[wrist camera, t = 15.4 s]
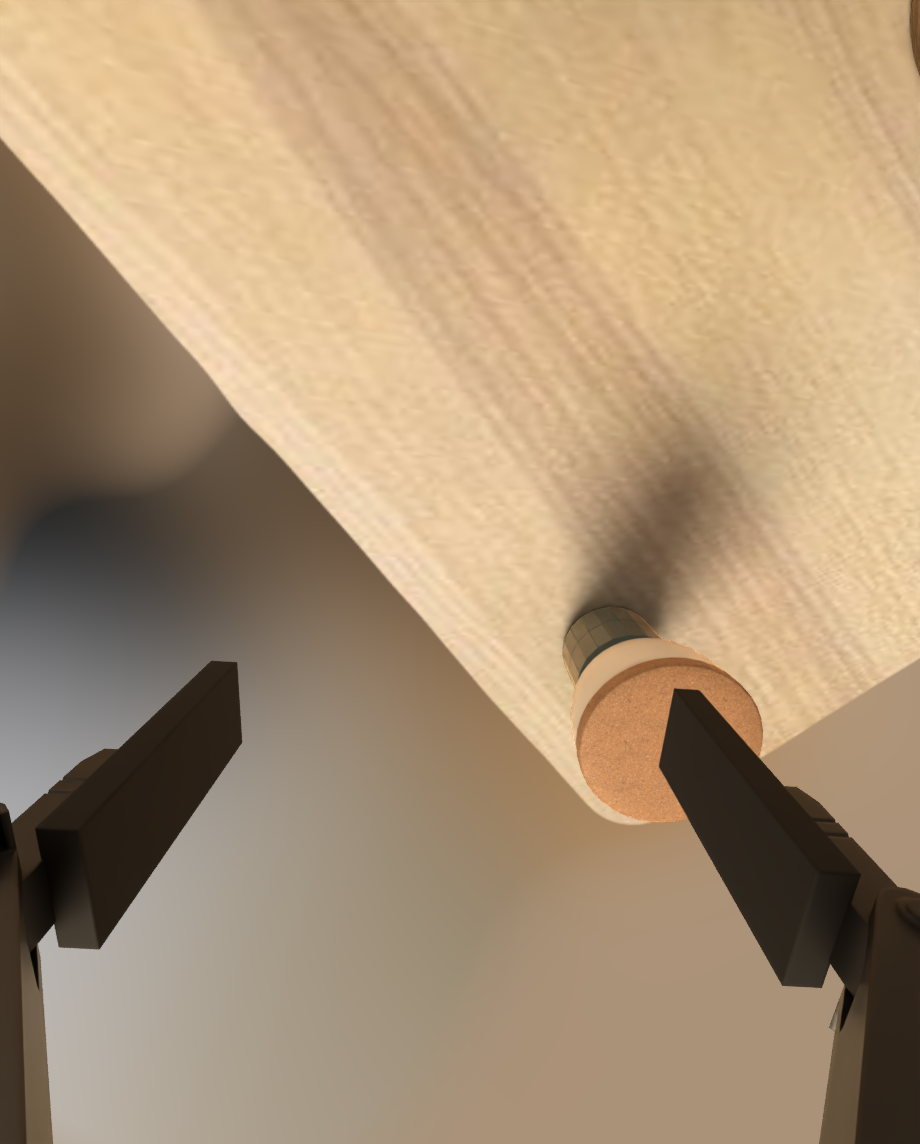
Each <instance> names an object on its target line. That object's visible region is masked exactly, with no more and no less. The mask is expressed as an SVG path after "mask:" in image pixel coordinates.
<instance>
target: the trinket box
mask: <svg viewBox="0 0 920 1144" xmlns="http://www.w3.org/2000/svg"><path fill="white" fill-rule="evenodd" d="M674 688H677V689H694V690H700V691H701V692H702V694H703V695H704V696H705V697H706V698H707V699H708V700H709V701H710V703H711V704H712V705H713V706H714V707H715V708H716V709H717V711H718V712H719V713H720V714H721V715H722V716H723V717H724V719H725V720H726V721H727V722H728V723H729V724H730V725H731V727H732V728H733V729H734V730H735V731H736V732H737V733H738V735H739V736H740V737H741V738H742V739H743V740H744V741H745V742H746V744H747V745H748V746H749V747H750V748H751V749H752V750H753V752H754V753H755V754H756V755H757V756H758V757H759V755H760V751H761V747H762V738H763V729H762V722H761V717H760V714H759V711H758V708H757V706H756V704H755V703H754V701H753V699H752V697H751V696H750V695H749V693H748V692H747V691H746V690H745V689H744V688H743V686H742V685H741V684H740V683H738V682H737V681H736V680H735V679H734V678H732V677H731V676H730V675H729V674H727V673H726V672H725V671H723V670H721V669H720V668H719V667H718V666H717V665H715V664H714V663H713V662H712V661H710V660H709V659H708V658H706V657H705V656H703V655H702V654H700V653H698V652H696V651H695V650H693V649H691V648H689V647H687V646H684V645H682V644H679V643H676V642H674V641H670V640H665V639H659V638H637V639H631V640H627V641H623V642H620V643H618V644H615V645H613V646H611V647H609V648H608V649H606V650H604V651H602V652H601V653H600V654H599V655H597V656H596V657H595V658H594V659H593V660H592V661H591V662H590V663H589V664H588V665H587V666H586V668H585V669H584V671H583V672H582V674H581V676H580V678H579V680H578V682H577V684H576V686H575V690H574V693H573V696H572V704H571V726H572V734H573V738H574V742H575V746H576V750H577V757H578V761H579V765H580V768H581V771H582V774H583V776H584V778H585V780H586V782H587V784H588V786H589V787H590V789H591V790H592V791H593V793H594V794H595V795H596V796H597V797H598V798H599V799H600V800H601V801H602V802H603V803H605V804H606V805H607V806H609V807H610V808H612V809H613V810H615V811H617V812H619V813H621V814H623V815H626V816H629V817H632V818H635V819H638V820H644V821H650V822H671V821H680V820H685V819H688V818H687V816H686V814H685V812H684V811H683V809H682V807H681V805H680V804H679V802H678V800H677V798H676V796H675V795H674V793H673V791H672V789H671V788H670V786H669V784H668V782H667V781H666V779H665V777H664V775H663V773H662V772H661V770H660V768H659V762H660V757H661V752H662V747H663V742H664V737H665V732H666V726H667V721H668V716H669V711H670V706H671V701H672V696H673V691H674Z"/></svg>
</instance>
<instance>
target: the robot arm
mask: <svg viewBox="0 0 920 1144" xmlns="http://www.w3.org/2000/svg"><path fill="white" fill-rule="evenodd" d="M911 37H912V45H913V52H914V56H915V61H916V65H917V68H918V71H919V74H920V0H912V6H911ZM241 743H242V732H241V716H240V700H239V685H238V670H237V662H222V661H211V662H210V663H209V664H208V665H206V667H204V668H203V669H202V670H201V671H200V672H199V673H198V674H197V675H196V676H195V677H194V678H193V679H192V680H191V681H190V682H189V683H188V684H186V685H185V686H184V687H183V688H182V689H181V690H180V691H179V692H178V693H177V694H176V695H175V696H174V697H173V698H172V699H171V700H170V701H169V702H167V703H166V704H165V705H164V706H163V707H162V708H161V709H160V710H159V711H158V712H157V713H156V714H155V715H154V716H153V717H152V718H151V719H150V720H149V721H148V722H146V723H145V724H144V725H143V726H142V727H141V728H140V729H139V730H138V731H137V732H136V733H135V734H134V735H133V736H132V737H131V738H130V739H129V740H128V741H126V742H125V743H124V744H123V745H122V746H121V747H120V748H119V749H103V750H102V751H100V752H98V753H96V754H94V755H92V756H90V757H89V758H87V759H85V760H83V761H81V762H80V763H79V764H78V765H77V766H75V767H74V768H73V769H72V770H71V771H70V772H69V773H68V774H66V776H64V777H63V780H62V781H61V780H60V781H59V782H58V783H56V784H55V785H54V786H53V787H52V788H51V789H50V790H49V792H48V794H44V795H43V796H42V797H41V798H40V799H38V800H37V801H36V802H35V803H34V804H33V805H32V806H30V807H29V808H28V809H27V810H26V811H25V812H24V813H23V814H21V815H20V816H19V817H18V818H17V819H16V820H15V821H14V822H13V823H11V819H10V814H9V811H8V809H7V807H6V805H5V804H3V803H0V1144H53V1139H52V1123H51V1111H50V1110H51V1109H50V1094H49V1078H48V1064H47V1051H46V1050H47V1049H46V1034H45V1019H44V1005H43V989H42V975H41V960H40V954H39V949H38V943H39V942H40V940H41V939H42V938H43V936H44V935H45V934H46V933H47V932H48V931H49V929H50V928H51V927H52V926H53V924H54V925H55V930H56V935H57V940H58V945H59V947H63V948H84V949H100V948H101V946H102V945H103V943H104V942H105V941H106V939H107V938H108V936H109V935H110V933H111V932H112V930H113V929H114V927H115V926H116V925H117V923H118V921H119V920H120V919H121V917H122V916H123V914H124V913H125V912H126V910H127V908H128V907H129V906H130V904H131V903H132V901H133V900H134V899H135V897H136V896H137V894H138V893H139V891H140V890H141V888H142V887H143V885H144V884H145V883H146V881H147V880H148V878H149V877H150V875H151V874H152V872H153V871H154V869H155V868H156V867H157V865H158V864H159V862H160V861H161V859H162V858H163V856H164V855H165V854H166V852H167V851H168V849H169V848H170V846H171V845H172V843H173V842H174V840H175V839H176V838H177V836H178V835H179V833H180V832H181V830H182V829H183V827H184V826H185V825H186V823H187V822H188V820H189V819H190V817H191V816H192V814H193V813H194V812H195V810H196V809H197V807H198V806H199V804H200V803H201V801H202V800H203V799H204V797H205V795H206V794H207V793H208V791H209V790H210V788H211V787H212V785H213V784H214V783H215V781H216V780H217V778H218V777H219V775H220V774H221V772H222V771H223V770H224V768H225V766H226V765H227V764H228V762H229V761H230V759H231V758H232V756H233V755H234V754H235V752H236V751H237V749H238V748H239V746H240V745H241ZM659 768H660V770H661V772H662V773H663V775H664V777H665V779H666V781H667V782H668V784H669V786H670V788H671V789H672V791H673V793H674V795H675V796H676V798H677V800H678V802H679V804H680V805H681V807H682V809H683V811H684V812H685V814H686V816H687V818H688V819H689V821H690V823H691V825H692V826H693V828H694V830H695V832H696V834H697V835H698V837H699V839H700V841H701V842H702V844H703V846H704V848H705V850H706V851H707V853H708V855H709V856H710V858H711V860H712V862H713V864H714V865H715V867H716V869H717V871H718V873H719V874H720V876H721V878H722V880H723V881H724V883H725V885H726V887H727V888H728V890H729V892H730V894H731V895H732V897H733V899H734V901H735V903H736V904H737V906H738V908H739V910H740V911H741V913H742V915H743V917H744V919H745V920H746V922H747V924H748V926H749V927H750V929H751V931H752V933H753V934H754V936H755V938H756V940H757V941H758V943H759V945H760V947H761V948H762V950H763V952H764V954H765V956H766V957H767V959H768V961H769V963H770V965H771V966H772V968H773V970H774V972H775V973H776V975H777V977H778V979H779V980H780V982H781V984H782V986H796V987H815V988H822V986H823V983H824V980H825V977H826V974H827V971H828V968H829V966H830V964H831V965H832V967H833V968H834V970H835V971H836V973H837V974H838V976H839V977H840V978H841V980H842V982H843V983H844V988H843V991H842V993H841V996H840V999H839V1001H838V1004H837V1007H836V1010H835V1012H834V1015H833V1018H832V1021H831V1023H830V1026H829V1028H830V1029H832V1030H834V1031H835V1035H834V1042H833V1049H832V1056H831V1064H830V1071H829V1079H828V1085H827V1093H826V1099H825V1106H824V1113H823V1121H822V1128H821V1135H820V1142H819V1144H920V894H919V893H917V892H914V891H911V890H909V889H906V888H900V887H897V886H896V884H895V883H894V882H893V881H892V880H891V879H890V878H889V877H888V876H887V875H886V874H885V873H884V872H883V870H882V869H881V868H879V866H878V865H877V864H876V863H875V862H874V861H873V860H872V859H871V858H870V857H869V856H868V855H867V853H866V852H865V851H864V850H863V849H862V848H861V847H860V846H859V845H858V844H857V843H856V842H855V840H854V839H853V838H851V837H849V836H848V833H847V832H846V831H845V830H844V829H843V828H842V827H841V826H840V824H839V823H836V822H835V819H834V818H833V817H832V816H831V815H830V814H829V813H828V812H827V810H826V809H825V808H823V806H822V805H821V804H820V803H819V802H818V801H816V800H815V799H813V798H812V797H810V796H809V795H808V794H806V793H805V792H803V791H802V790H800V789H799V788H797V787H788V786H783V785H782V784H781V782H780V781H779V780H778V779H777V778H776V777H775V776H774V774H773V773H772V772H771V771H770V770H769V769H768V768H767V766H766V765H765V764H764V763H763V762H762V761H761V760H760V758H759V757H758V756H757V755H756V754H755V753H754V752H753V750H752V749H751V748H750V747H749V746H748V745H747V744H746V742H745V741H744V740H743V739H742V738H741V737H740V736H739V735H738V733H737V732H736V731H735V730H734V729H733V728H732V727H731V725H730V724H729V723H728V722H727V721H726V720H725V719H724V717H723V716H722V715H721V714H720V713H719V712H718V711H717V709H716V708H715V707H714V706H713V705H712V704H711V703H710V701H709V700H708V699H707V698H706V697H705V696H704V695H703V694H702V692H701V691H700V690H694V689H677V688H674V691H673V696H672V701H671V706H670V711H669V716H668V721H667V726H666V732H665V737H664V742H663V747H662V752H661V757H660V762H659Z"/></svg>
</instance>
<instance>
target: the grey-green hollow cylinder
mask: <svg viewBox="0 0 920 1144" xmlns="http://www.w3.org/2000/svg"><path fill="white" fill-rule="evenodd" d="M637 638H659V639H662V638H661V637H660V636H659V635H658V634H657V633H656V632H655V630H654V629H653V628H652V627H651V626H650V625H649V624H648V623H647V622H646V621H645V620H644V619H643V618H642V617H641V616H639V615H638V614H637V613H635V612H633V611H630V610H628V609H625V608H622V607H604V608H600V609H595V610H592V611H591V612H589V613H587V614H585V615H583V616H582V617H581V618H579V619H578V620H577V621H576V622H575V623H574V624H573V625H572V627H571V628H570V630H569V632H568V634H567V636H566V638H565V641H564V646H563V658H564V663H565V667H566V669H567V671H568V674H569V676H570V679H571V681H572V683H573V686H574V688H575V686H576V684H577V682H578V680H579V678H580V676H581V674H582V672H583V671H584V669H585V668H586V666H587V665H588V664H589V663H590V662H591V661H592V660H593V659H594V658H595V657H596V656H597V655H599V654H600V653H601V652H602V651H604V650H606V649H608V648H609V647H611V646H613V645H615V644H618V643H620V642H623V641H627V640H631V639H637Z"/></svg>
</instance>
